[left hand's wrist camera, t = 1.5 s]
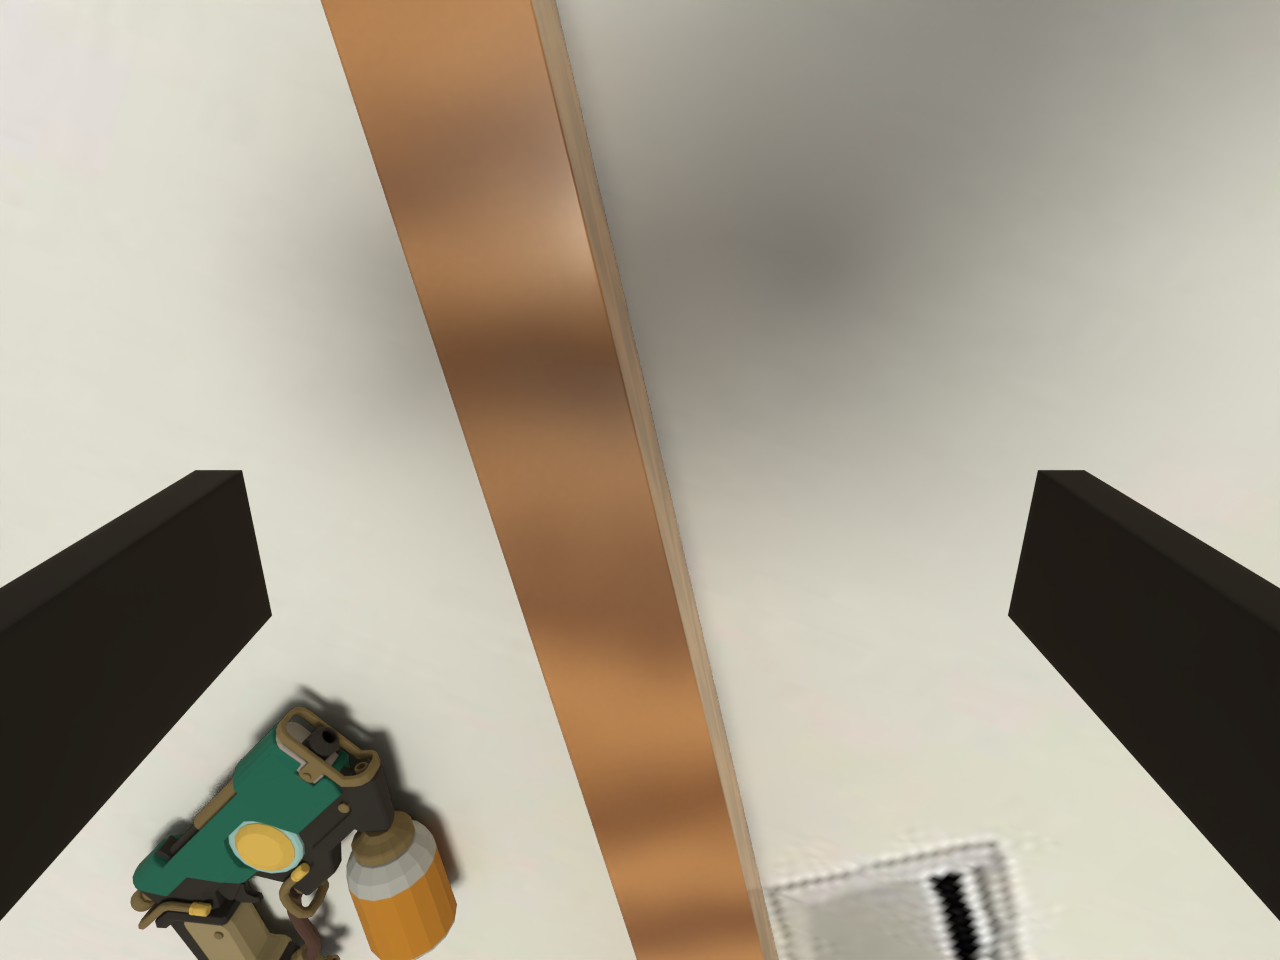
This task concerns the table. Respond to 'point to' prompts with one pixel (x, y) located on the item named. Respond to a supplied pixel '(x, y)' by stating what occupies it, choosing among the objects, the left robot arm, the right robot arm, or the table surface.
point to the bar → (561, 440)
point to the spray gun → (298, 855)
